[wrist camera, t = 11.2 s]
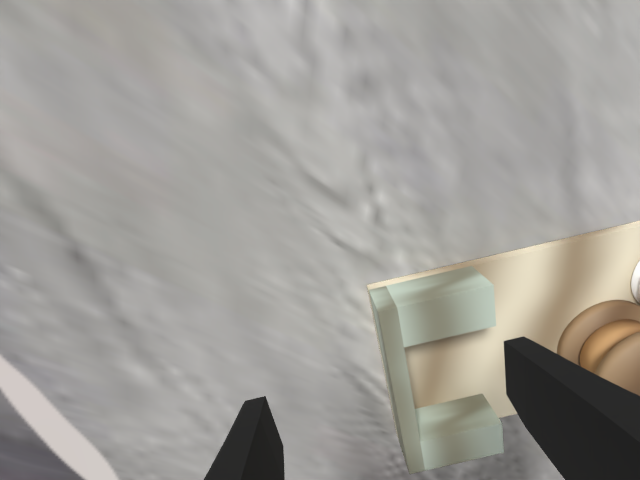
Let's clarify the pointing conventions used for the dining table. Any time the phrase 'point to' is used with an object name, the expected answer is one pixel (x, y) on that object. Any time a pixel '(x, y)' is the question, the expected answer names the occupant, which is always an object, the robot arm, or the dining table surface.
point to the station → (501, 336)
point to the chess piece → (636, 282)
